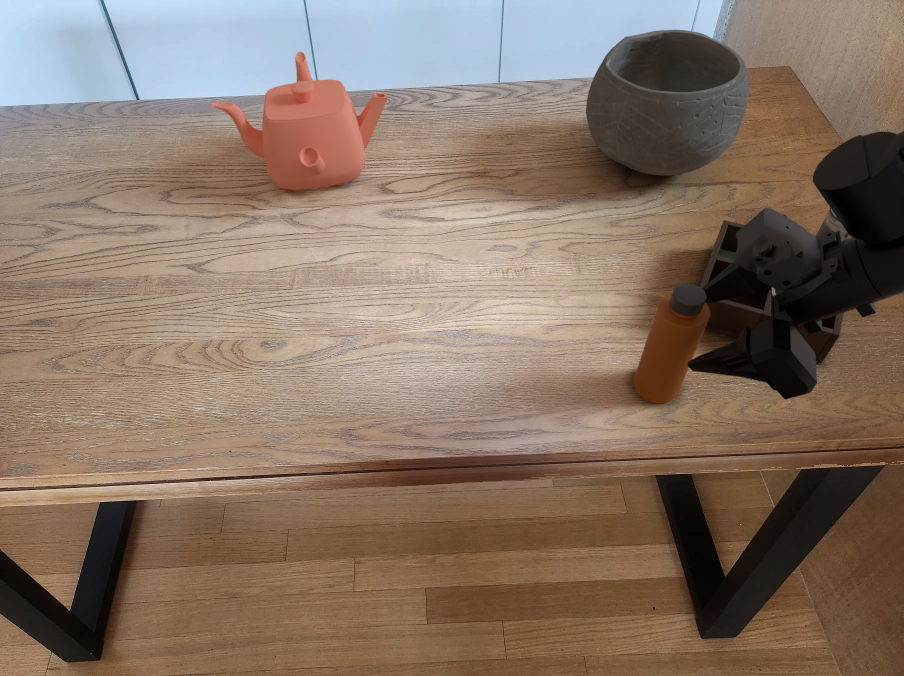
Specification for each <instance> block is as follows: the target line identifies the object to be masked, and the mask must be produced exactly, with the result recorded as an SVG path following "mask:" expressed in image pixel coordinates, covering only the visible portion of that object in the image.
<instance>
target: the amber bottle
mask: <svg viewBox="0 0 904 676" xmlns="http://www.w3.org/2000/svg"><path fill="white" fill-rule="evenodd" d="M705 301H706V293H705V292H704V290H703V289H701V288H700V287H699V285H697V284H692V283H681V284H677V286H675V287H674V288H673V291H672V292H671V293H668V294H666V295H664V296H662V297H661V299H660V300H659V302H658V304H657V307H656V310H655V312H654V317H653V319H652V322H651V325H650V328H649V331H648V334H647V338H646V340H645V343H644V344H645V345H644V347H643V350H642V353H641V356H640V359H639V363H638V365H637V369H636V372H635V375H634V378H633V383H632V385H633V388H634V390H635V392H636V394H638V396H639V397H641V398H642V399H644V400H645V401H647V402H650V403H654V404H666V403H669V402H671V401H673V400H675V398H676V397H678V395H679V393H680V390H681V388H682V385H683V383H684V381H685V378H686V376H687V373H688V371H689V369H690V368H689V367H688V366H687V364H688V361H690V360H692V359H694V358H695V354H696V351H697V350H698V347H699V345H700V342H701V340H702V337H703V335H704V332H705V330H706V329H705V328H706V325H707V323H708V321H709V318H710V309H709V307H708V305H707V304H706V303H705Z"/></svg>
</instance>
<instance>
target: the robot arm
mask: <svg viewBox="0 0 904 676" xmlns="http://www.w3.org/2000/svg"><path fill="white" fill-rule="evenodd" d="M812 183H813V184H814V186H815V188H816V189H817V190H818V192H819V194H820V195H821V197H822V198H823V199H824V201H825V202H826V204H827V205H828V207H829V209H830V208H831V209H832V211H833V212H834V214H835V215H836V216H837V218H838V219H839V221H840V222H841V224H842V225H843V227H844V228H845V230H846V231H847V232H848V234H849V235H850V236H852V237H850V238H848V239H845V237H844V236H843V234H842V233H841V231H837V232H833V231H831V232H828V233H825V234H823V235H820V236H816V235H813V234H812V233H811V232H809V231H808V230H807V229H806V228H805V227H803V226H802V225H801V224H799V223H798V222H796V221H794V220H792V219H790V218H789V217H788V216H787V214H783V213H780V212H778V211H777V210H775V209H773V208H771V207H764V208H763V209H762V210H761V211H760V212H758V213H757V214H756V215H755V216H754V217H753V218H752V219H750V220H749V221H747V223H746V224H744V225H745V226H744V227H742V228H741V229H740V230H739V231H738V232H737V233H736V238H737V239H738V242H737V251H736V253H735V257H736V259H735V260H734V261H733V262H732V263H731V264H730V265H729V266H728V267H727V268H726V269H724V270H723V271H722V272H721V273H720V274H718V275H717V276H716V277H715V278H714V279H712V280H711V281H710V282H709V283H708V284H706V285H705V286H704V287H703V288H701V289H703V290H704V292H705V293H706V301H705V303H712V302H718V301H722V300H727V299H732V298H737V297H742V296H746V295H751V294H756V293H761V292H766V291H771V319H769V320H766V321H763V322H761V323H759V324H758V325H757V326H756V327H755V328H754V329H753V331H752V332H751V331H750V329H749V328H748V327H747V326H745V327H744V329H743V331H742V332H741V334H740V336H739V338H738V339H737V340H736V341H734V342H731V343H729V344H725V345H723V346H720V347H718V348H715V349H713V350H710V351H708V352H705V353H703V354H700V355H698V356H696V357H693V359H692V360H690V361H688V364H687V366H688V367H689V369H690V371H692V372H695V373H704V374H713V375H722V376H729V377H730V376H731V377H738V378H743V379H748V380H753V381H758V382H762V383H766V384H767V385H768V386H769V387H770V388H771V389H772V390H773V391H776V392H777V393H778V394H779V395H780V396H781V397H782V399H784V400H790V399H792V398H796V397H801V396H805V395H807V394H810V393H812V391H813V390H814V389H815V387H816V385H817V384H818V374H817V362H816V357H815V352H814V351H813V350H812V348H811V347H810V346H809V345H808V343H807V342H806V341H805V340H804V338H803V337H802V336H801V335H800V333H799V332H798V327H797V325H798V326H801V325H803V326H804V327H805V328H806V330H807V331H808V332H809V334H813V333H816V332H819V331H822V320H823V319H826V318H829V317H832V316H835V315H838V314H841V313H844V314H845V313H847V312H850V311H853V310H856V311H857V312H858V314H859V315H860V316H861V318H867V317H868V316H873V315H875V314H877V309H876V303H877V302H880V301H883V300H886V299H887V300H888V299H889V298H892V297H896V296H899V295H902V294H904V130H903V131H901V132H899V133H895V132H891V131H876V132H871V133H868V134H865V135H862V134H857V135H856V136H853V137H852V138H849V139H848V140H846V141H844V142H842V143H841V144H839V145H838V146H836V147H835V148H833V149H832V150H831V151H830V152H828V154H826V155H825V156H824V157H823V158H822V159H821V161H820V162H819V163H818V164H817V165H816V167H815V169H814V171H813V175H812Z"/></svg>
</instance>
